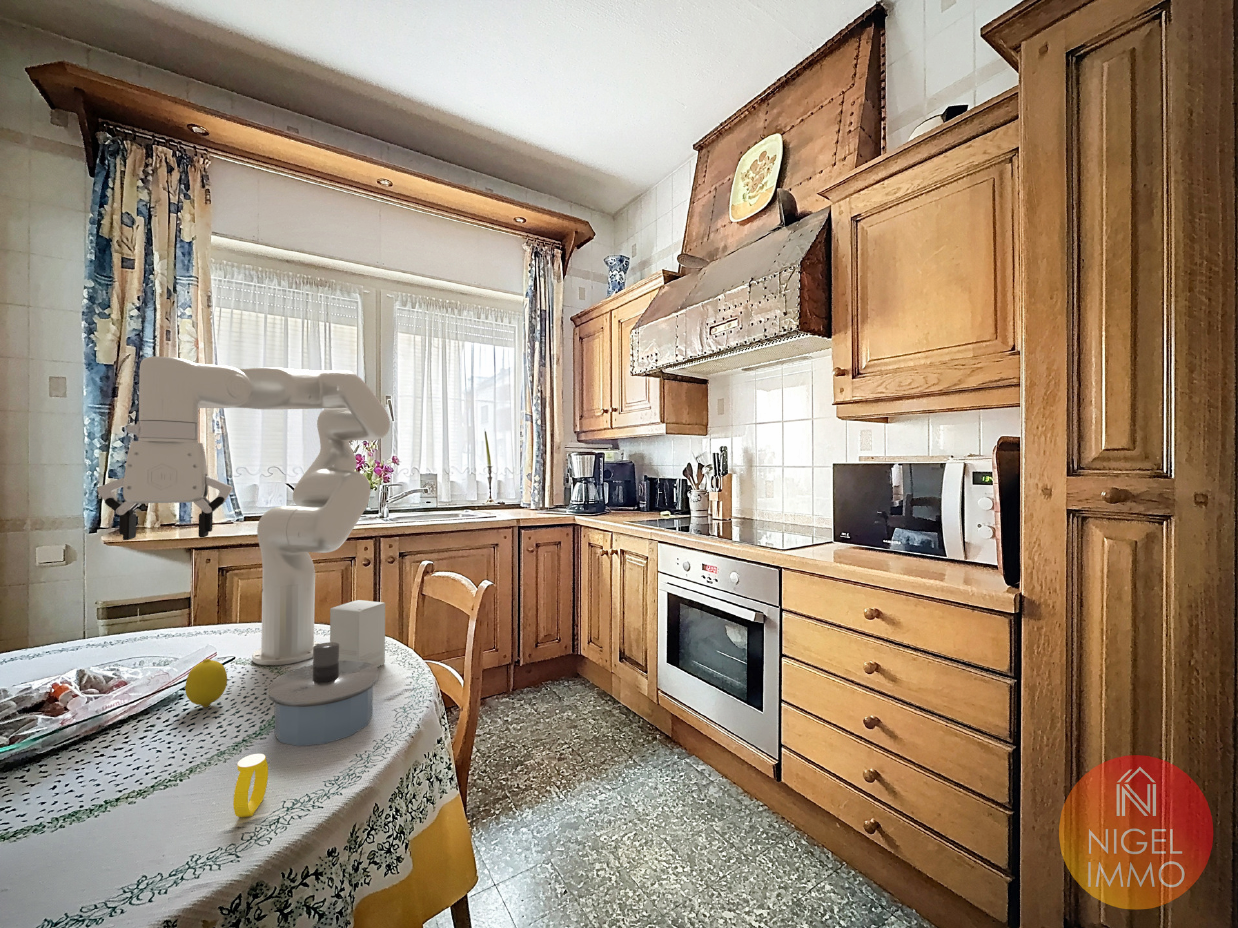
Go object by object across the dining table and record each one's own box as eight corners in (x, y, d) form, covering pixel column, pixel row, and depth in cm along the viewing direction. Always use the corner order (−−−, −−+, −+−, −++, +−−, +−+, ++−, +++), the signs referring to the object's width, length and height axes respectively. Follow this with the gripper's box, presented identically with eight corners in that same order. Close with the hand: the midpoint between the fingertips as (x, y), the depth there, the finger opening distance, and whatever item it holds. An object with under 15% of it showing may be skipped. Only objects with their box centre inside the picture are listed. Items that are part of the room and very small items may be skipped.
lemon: (204, 716, 86) (204, 666, 86) (176, 712, 87) (176, 663, 87) (235, 701, 92) (235, 654, 92) (208, 698, 93) (209, 651, 93)
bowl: (294, 708, 89) (295, 672, 89) (378, 702, 92) (379, 667, 92) (261, 749, 77) (261, 707, 77) (359, 740, 79) (360, 699, 79)
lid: (290, 670, 90) (291, 633, 90) (386, 664, 93) (386, 629, 93) (250, 711, 75) (251, 666, 75) (366, 701, 79) (366, 659, 79)
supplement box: (386, 663, 110) (387, 602, 110) (357, 677, 103) (358, 611, 103) (357, 659, 112) (358, 598, 112) (327, 671, 105) (328, 607, 105)
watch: (254, 825, 61) (253, 775, 61) (226, 828, 60) (225, 778, 60) (274, 790, 67) (274, 744, 67) (249, 793, 66) (249, 746, 66)
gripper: (88, 430, 81) (86, 543, 81) (227, 434, 89) (226, 538, 89) (109, 432, 88) (108, 537, 88) (237, 436, 96) (235, 532, 95)
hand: (167, 537), depth 88 cm, fingers open, 9 cm apart
